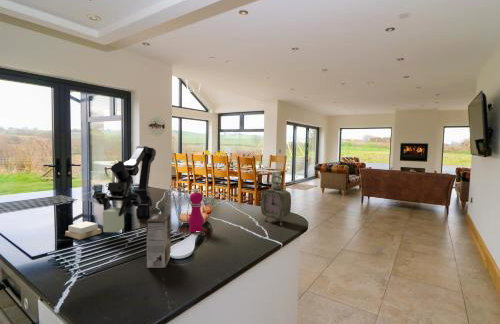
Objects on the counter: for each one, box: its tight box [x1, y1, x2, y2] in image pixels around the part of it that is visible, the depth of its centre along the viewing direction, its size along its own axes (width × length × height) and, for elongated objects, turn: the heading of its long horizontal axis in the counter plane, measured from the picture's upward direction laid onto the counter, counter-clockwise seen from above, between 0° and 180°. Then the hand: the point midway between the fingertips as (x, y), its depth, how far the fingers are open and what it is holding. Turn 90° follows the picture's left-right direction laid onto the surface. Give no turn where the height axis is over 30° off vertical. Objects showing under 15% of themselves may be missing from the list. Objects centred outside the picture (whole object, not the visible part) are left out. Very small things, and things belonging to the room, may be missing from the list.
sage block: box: [102, 207, 125, 233], centre depth 119 cm, size 6×6×9 cm
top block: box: [68, 220, 99, 234], centre depth 123 cm, size 8×8×2 cm
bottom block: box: [64, 227, 102, 241], centre depth 123 cm, size 10×10×2 cm
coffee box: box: [146, 213, 172, 269], centre depth 96 cm, size 9×6×16 cm
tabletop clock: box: [260, 175, 292, 226], centre depth 147 cm, size 14×9×25 cm, turn 47°
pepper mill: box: [187, 188, 205, 234], centre depth 131 cm, size 7×7×20 cm
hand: (111, 215), depth 118 cm, fingers closed on sage block, 6 cm apart
